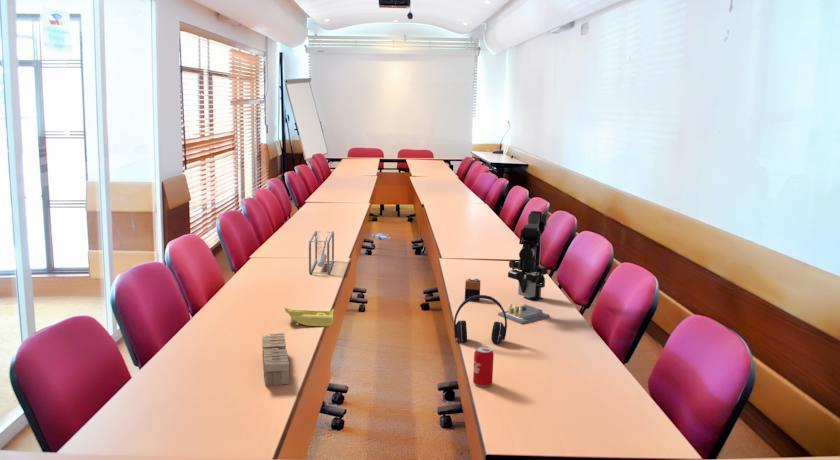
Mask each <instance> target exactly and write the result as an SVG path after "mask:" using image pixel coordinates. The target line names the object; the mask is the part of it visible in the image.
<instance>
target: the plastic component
mask: <svg viewBox="0 0 840 460" xmlns="http://www.w3.org/2000/svg"><path fill="white" fill-rule="evenodd" d="M284 312H285V313H286V314H287V315H289V316H290V318H291V319H290V322H291V323H293V324H294V323H295V324H296V323H297V324H298V323H299V324H301V325H304V326H308V327H331V326H332V325H334V322H335V309H334V308H332V310H331V311H330V310H329V311H326V310H325V311H324V310H307V309H306V310H304V309H303V310H300V309H288V308H287V306H285V307H284Z"/></svg>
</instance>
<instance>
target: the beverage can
mask: <svg viewBox="0 0 840 460" xmlns="http://www.w3.org/2000/svg"><path fill="white" fill-rule="evenodd" d="M494 355H495V354H494V352H493V349H492V347H490V346H485V345H481V346H479V345H478V346H477V347H476V348H475V351H474V354H473V376H472V382H473V384H475V385H476V386H477V387H479V388H480V387H482V388H486V387H489V386H490V385H492V384H493V379H494V378H493V372H494V357H495V356H494Z"/></svg>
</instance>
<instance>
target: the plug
mask: <svg viewBox="0 0 840 460" xmlns="http://www.w3.org/2000/svg"><path fill="white" fill-rule="evenodd" d="M535 289H536V283H535V282H532V281H529V280H528V282H527V286H526V290H525V293H522V290H521V287H520V284H519V283H518V295H519V296H522V297H528V298H530V297H534V296H535Z"/></svg>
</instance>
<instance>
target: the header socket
mask: <svg viewBox="0 0 840 460" xmlns="http://www.w3.org/2000/svg"><path fill="white" fill-rule="evenodd" d="M512 306H513V307H512ZM504 311H505V314H506V318H507V320H510V321H512V322H515V323H518V324H520V325H524V324H527V323H531V322H535V321H540V320H543V319H547V318H550V315H551V314H549V313H545V312H543V309H540V308H537V307H535V306H531V305H529V304H526V303H525V304H523V305H520V306H517V305H513V304H512V303H508V310H504ZM497 316H499V317H503V318H504V319H505V317H504V314H503V311H501V312H498V313H497Z"/></svg>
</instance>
